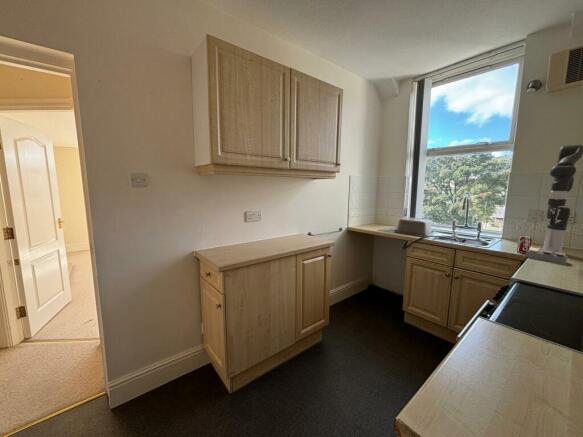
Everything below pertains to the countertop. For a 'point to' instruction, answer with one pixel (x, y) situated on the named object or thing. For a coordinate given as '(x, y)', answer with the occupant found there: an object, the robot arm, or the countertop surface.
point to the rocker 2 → (560, 253)
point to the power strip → (547, 257)
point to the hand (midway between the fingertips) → (552, 225)
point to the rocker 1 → (534, 249)
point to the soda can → (524, 244)
